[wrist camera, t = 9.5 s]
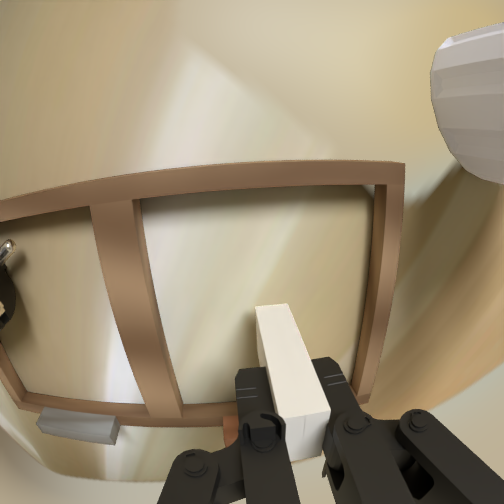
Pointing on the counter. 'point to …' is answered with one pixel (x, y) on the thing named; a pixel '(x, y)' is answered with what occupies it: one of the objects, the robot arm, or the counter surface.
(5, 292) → the power plug
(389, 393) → the counter surface
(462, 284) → the counter surface
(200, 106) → the counter surface
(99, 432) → the strip
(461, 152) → the soap bottle
